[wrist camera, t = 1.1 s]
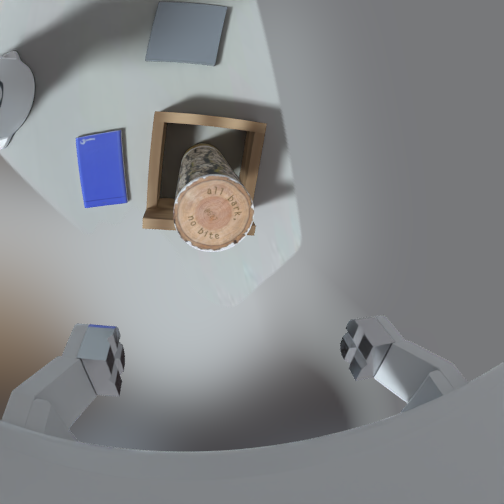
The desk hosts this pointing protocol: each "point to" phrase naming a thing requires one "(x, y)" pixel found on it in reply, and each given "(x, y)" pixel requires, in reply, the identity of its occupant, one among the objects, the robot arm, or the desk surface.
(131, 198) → the desk surface
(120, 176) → the hard drive
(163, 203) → the frame
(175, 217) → the wooden log
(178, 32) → the slate pad
